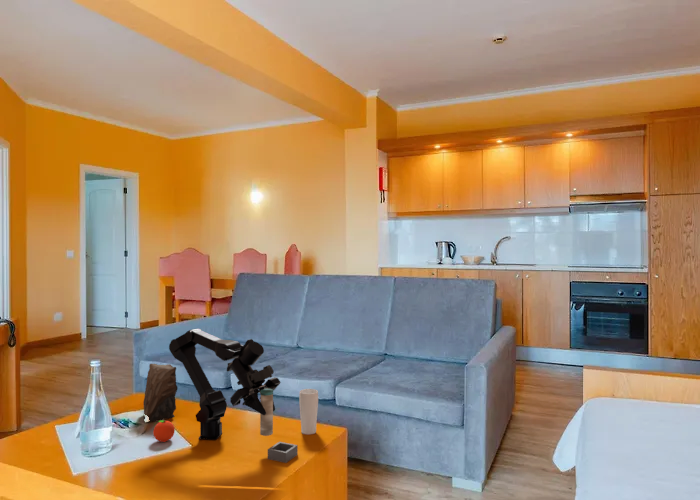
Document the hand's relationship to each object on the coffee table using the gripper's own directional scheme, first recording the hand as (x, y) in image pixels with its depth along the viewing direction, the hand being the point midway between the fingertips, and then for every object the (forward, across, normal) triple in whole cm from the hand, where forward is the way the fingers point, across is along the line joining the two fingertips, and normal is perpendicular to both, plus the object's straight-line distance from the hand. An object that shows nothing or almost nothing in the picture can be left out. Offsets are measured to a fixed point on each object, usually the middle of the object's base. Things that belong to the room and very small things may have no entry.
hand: (269, 412), depth 164 cm
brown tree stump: (-33, +2, +53) cm, 63 cm away
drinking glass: (+9, +22, +10) cm, 26 cm away
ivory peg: (+4, 0, +6) cm, 7 cm away
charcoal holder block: (+13, 0, +6) cm, 15 cm away
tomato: (-17, -12, +37) cm, 42 cm away
